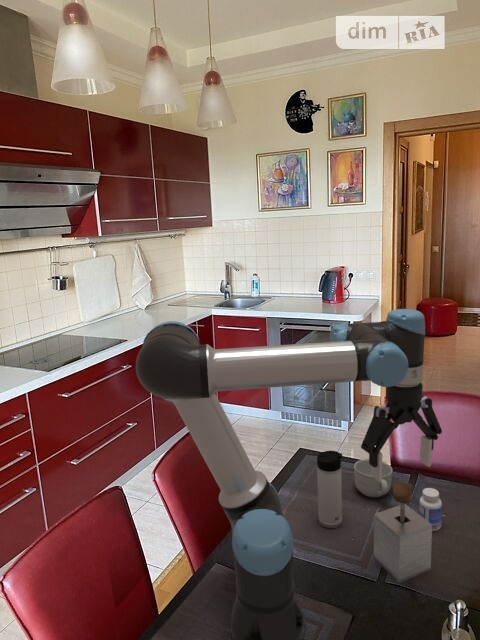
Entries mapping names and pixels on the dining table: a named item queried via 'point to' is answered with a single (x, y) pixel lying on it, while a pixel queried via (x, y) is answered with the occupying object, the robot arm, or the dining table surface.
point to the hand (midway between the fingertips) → (401, 471)
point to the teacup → (371, 479)
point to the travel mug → (329, 489)
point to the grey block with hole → (402, 543)
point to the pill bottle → (431, 507)
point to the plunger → (402, 496)
